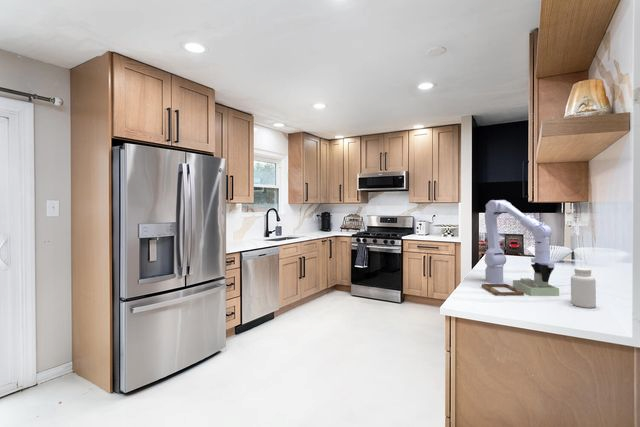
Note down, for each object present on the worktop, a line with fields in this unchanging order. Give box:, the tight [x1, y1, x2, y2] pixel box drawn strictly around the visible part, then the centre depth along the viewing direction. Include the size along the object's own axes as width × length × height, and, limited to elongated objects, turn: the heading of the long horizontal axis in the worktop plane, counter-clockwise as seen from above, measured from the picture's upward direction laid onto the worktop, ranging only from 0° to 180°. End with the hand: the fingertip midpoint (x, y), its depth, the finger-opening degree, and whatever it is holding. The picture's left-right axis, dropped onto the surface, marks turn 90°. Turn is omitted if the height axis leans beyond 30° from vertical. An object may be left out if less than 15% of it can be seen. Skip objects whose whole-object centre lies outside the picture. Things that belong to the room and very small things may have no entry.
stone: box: [533, 272, 549, 285], centre depth 152 cm, size 4×4×5 cm
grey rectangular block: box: [519, 277, 534, 288], centre depth 157 cm, size 4×4×5 cm
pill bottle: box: [570, 267, 597, 309], centre depth 134 cm, size 8×8×15 cm
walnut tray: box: [481, 283, 525, 297], centre depth 156 cm, size 16×12×2 cm
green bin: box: [512, 279, 560, 297], centre depth 155 cm, size 16×12×4 cm
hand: (542, 280), depth 152 cm, fingers closed on stone, 4 cm apart
